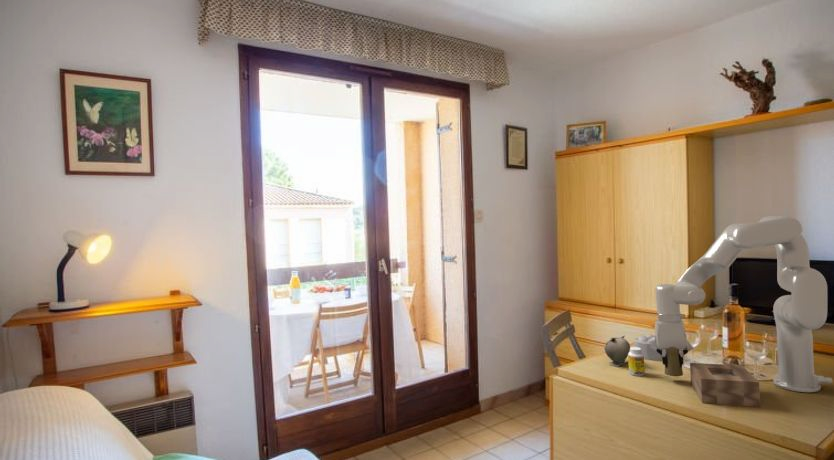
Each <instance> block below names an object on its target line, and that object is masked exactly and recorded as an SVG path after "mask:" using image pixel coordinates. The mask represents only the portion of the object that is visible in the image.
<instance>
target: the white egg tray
mask: <svg viewBox="0 0 834 460" xmlns="http://www.w3.org/2000/svg"><path fill="white" fill-rule="evenodd" d="M654 340H655V335H652V334H647V335H640V336H638V337H637V338H634V340H633V347H639V348H641V351H642V352H641V353H643V354H644V361H645V360H646V361H655V362H656V361H657V362H660V361H661V362H662V355H660V354H659V353H658V352H657V351H655V350H653V349H651V345H652V343H653V342H654ZM656 347H657V345H656ZM657 348H658V347H657ZM659 349H660V350H661V348H659Z"/></svg>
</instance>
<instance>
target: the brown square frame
mask: <svg viewBox="0 0 834 460" xmlns="http://www.w3.org/2000/svg"><path fill="white" fill-rule="evenodd" d="M689 368H690V370H689V372H690V385H691V387H692V388H693V390H694V392H695V393H696V395H697V397H698V398H699V399H700V402H701V403H702V404H717V405H731V406H742V407H743V406H744V407H758V408H761V395H760V392H761V390H760V381H759V380H758V379H757V378H756V377H755V376H754V375H753V374H752V373H751V372H750V371H748V370H747V368H746V367H744V365H742V364H722V363H720V364H719V363H704V362H703V363H702V362H701V363H699V362H689ZM711 372H716V373H731V374H732V375H733V376H722V375H712V374H711Z"/></svg>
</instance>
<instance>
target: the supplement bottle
mask: <svg viewBox="0 0 834 460" xmlns="http://www.w3.org/2000/svg"><path fill="white" fill-rule="evenodd" d="M641 352H642V351H641V348H639V347H634V346H630V351H629V353H628V356H627V358H628V361H627V362H628V373H629V374H630V375H632V376H636V377H642V376H644V375H645V372H646V371H645V359H644V354H643V353H641Z"/></svg>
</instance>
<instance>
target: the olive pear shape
mask: <svg viewBox="0 0 834 460" xmlns="http://www.w3.org/2000/svg"><path fill="white" fill-rule="evenodd" d="M666 357H667V362H668V364H667V368H666V367H665V366H664V374H665V375H666V376H670V377H682V376H683V375H684V372H683V367H682V368H681V367H680V363H679V349H677V348H675V347H670V348H667V349H666Z"/></svg>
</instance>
